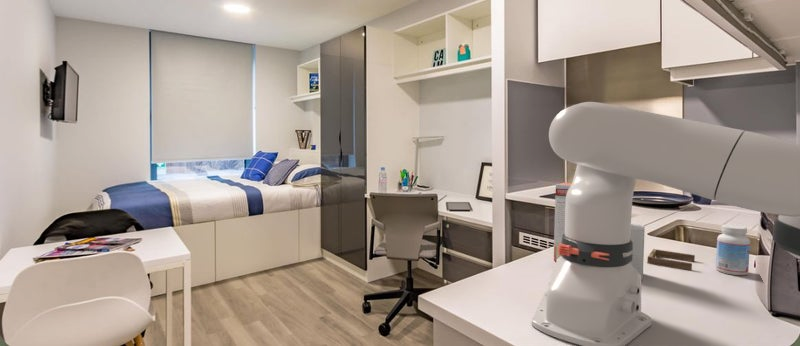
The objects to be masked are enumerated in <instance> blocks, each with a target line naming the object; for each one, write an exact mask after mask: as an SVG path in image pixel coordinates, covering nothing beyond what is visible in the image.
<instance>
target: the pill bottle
mask: <svg viewBox="0 0 800 346" xmlns="http://www.w3.org/2000/svg"><path fill="white" fill-rule="evenodd" d="M747 228H748V227H746V226H742V225H735V224H722V225H721V229H720V230H721V232H722V233H721V234H719V235H718V236H717V239H716V253H715V255H716V256H715V270H716V271H718V272H720V273H723V274H726V275H732V276H746V275H748V274H749V267H750V266H749V265H750V264H749V262H750V250H751V240H750V238H749V237H747V236H746V235H747V233H748V232H747V231H748V229H747Z"/></svg>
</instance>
